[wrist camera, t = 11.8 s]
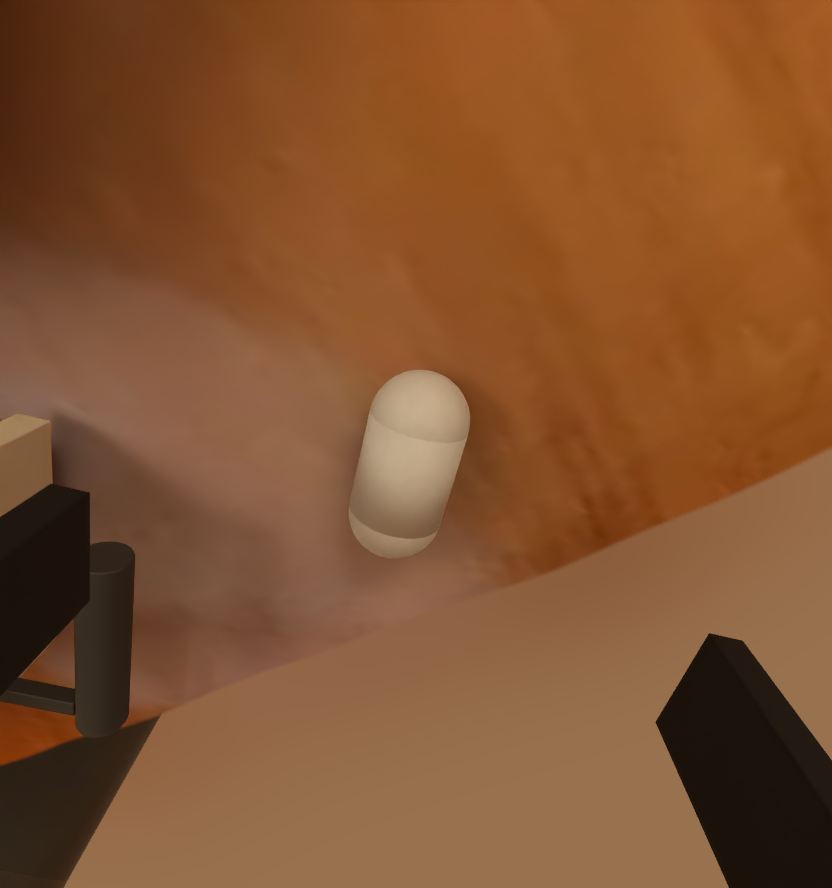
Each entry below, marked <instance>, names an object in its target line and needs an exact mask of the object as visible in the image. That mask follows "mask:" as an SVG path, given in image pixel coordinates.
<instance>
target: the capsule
mask: <svg viewBox="0 0 832 888" xmlns="http://www.w3.org/2000/svg"><path fill="white" fill-rule="evenodd" d="M469 428H470V412H469V407H468V404H467V402H466V399H465V397H464V395H463V393H462V392H461V391H460V389H459V388H458V387H457V385H456V384H454V383H453V382H452V381H451V380H450V379H448V378H447V377H445V376H443V375H441V374H439V373H437V372H434V371H429V370H411V371H406V372H403V373H401V374H398V375H396V376H394V377H393V378H391V379H390V380H388V381H387V382H386V383H385V384H384V385H383V386H382V387H381V388H380V390H379V391H378V392H377V394H376V396H375V398H374V399H373V402H372V405H371V408H370V412H369V417H368V421H367V426H366V430H365V435H364V439H363V444H362V448H361V452H360V457H359V461H358V466H357V470H356V475H355V479H354V484H353V488H352V493H351V497H350V502H349V512H348V514H349V521H350V525H351V528H352V531H353V533H354V535H355V537H356V538H357V540H358V541H359V542H360V543H361V545H362V546H363V547H365V548H366V549H367V550H369V551H370V552H372V553H373V554H375V555H377V556H380V557H383V558H388V559H401V558H407V557H410V556H413V555H415V554H417V553H419V552H421V551H422V550H423V549H424V548H426V547H427V546H428V545H429V544H430V543H431V542H432V540H433V539H434V538H435V536H436V534H437V532H438V530H439V528H440V525H441V522H442V519H443V515H444V512H445V509H446V506H447V502H448V499H449V496H450V493H451V489H452V486H453V483H454V480H455V476H456V473H457V470H458V467H459V463H460V460H461V457H462V454H463V450H464V447H465V444H466V440H467V437H468V433H469Z"/></svg>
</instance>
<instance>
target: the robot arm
mask: <svg viewBox="0 0 832 888" xmlns="http://www.w3.org/2000/svg"><path fill="white" fill-rule="evenodd" d="M89 601H90V493H89V492H85V491H80V490H76V489H71V488H67V487H63V486H58V485H54V484H49V485H48V486H46V487H45V488H43V489H42V490H40V491H39V492H37V493H36V494H34V495H33V496H31V497H30V498H28V499H27V500H25V501H24V502H22V503H21V504H19V505H18V506H16V507H14V508H13V509H11V510H10V511H8V512H7V513H5V514H4V515H2V516H1V517H0V696H1V695H2V694H3V693H4V692H5V691H6V690H7V689H8V688H9V687H10V686H11V685H12V683H13V682H14V681H15V680H16V679H17V678H18V677H19V676H20V675H21V674H22V673H23V672H24V671H25V670H26V668H27V667H28V666H29V665H30V664H31V663H32V662H33V661H34V660H35V659H36V658H37V657H38V656H39V655H40V654H41V652H42V651H43V650H44V649H45V648H46V647H47V646H48V645H49V644H50V643H51V642H52V641H53V640H54V639H55V637H56V636H57V635H58V634H59V633H60V632H61V631H62V630H63V629H64V628H65V627H66V626H67V625H68V624H69V622H70V621H71V620H72V619H73V618H74V617H75V616H76V615H77V614H78V613H79V612H80V611H81V610H82V609H83V607H84V606H85V605H86V604H87V603H88V602H89ZM656 724H657V726H658V729H659V731H660V733H661V735H662V738H663V740H664V742H665V745H666V747H667V749H668V751H669V753H670V756H671V758H672V760H673V762H674V765H675V767H676V769H677V772H678V774H679V776H680V778H681V780H682V783H683V785H684V787H685V790H686V792H687V794H688V796H689V798H690V801H691V803H692V805H693V808H694V809H695V812H696V814H697V817H698V819H699V821H700V823H701V825H702V828H703V830H704V832H705V835H706V837H707V839H708V841H709V844H710V846H711V848H712V850H713V853H714V855H715V857H716V859H717V861H718V864H719V866H720V868H721V871H722V873H723V875H724V877H725V880H726V882H727V884H728V886H729V888H832V760H831V759H830V758H829V756H828V755H827V753H826V752H825V751H824V750H823V748H822V747H821V746H820V744H819V743H818V741H817V740H816V739H815V737H814V736H813V735H812V733H811V732H810V731H809V729H808V728H807V727H806V725H805V724H804V723H803V721H802V720H801V719H800V717H799V716H798V715H797V713H796V712H795V710H794V709H793V708H792V707H791V705H790V704H789V702H788V701H787V700H786V698H785V697H784V696H783V694H782V693H781V692H780V690H779V689H778V688H777V686H776V685H775V684H774V682H773V681H772V680H771V678H770V677H769V676H768V674H767V673H766V671H765V670H764V669H763V667H762V666H761V665H760V663H759V662H758V661H757V659H756V658H755V657H754V655H753V654H752V653H751V652H750V650H749V649H748V647H747V646H746V645H745V644H744V642H743V641H741V640H737V639H732V638H727V637H723V636H719V635H715V634H710V633H709V634H708V637H707V638H706V639H705V641H704V643H703V644H702V646H701V648H700V650H699V651H698V653H697V655H696V656H695V658H694V659H693V661H692V663H691V664H690V666H689V668H688V669H687V671H686V673H685V674H684V676H683V678H682V679H681V681H680V683H679V684H678V686H677V687H676V689H675V691H674V692H673V694H672V696H671V697H670V699H669V701H668V702H667V704H666V706H665V707H664V709H663V711H662V712H661V714H660V716H659V717H658V719H657V721H656Z"/></svg>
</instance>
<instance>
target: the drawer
mask: <svg viewBox="0 0 832 888" xmlns="http://www.w3.org/2000/svg"><path fill="white" fill-rule="evenodd" d="M49 484H53V481H52V448H51V422H50V421H49V420H45V419H40V418H36V417H32V416H27V415H23V414H15V415H13V416H11V417H8V418H6V419H4V420H1V421H0V517H1V516H2V515H4V514H5V513H7V512H8V511H10V510H11V509H13V508H14V507H16V506H18V505H19V504H21V503H22V502H24V501H25V500H27V499H28V498H30V497H31V496H33V495H34V494H36V493H37V492H39V491H40V490H42V489H43V488H45V487H46V486H48V485H49ZM134 576H135V553H134V551H133V550H132V548H131V547H129V546H128V545H126V544H123V543H119V542H99V543H95V544H92V545H90V601H89V602H88V603H87V604H86V605H85V606H84V607H83V609H82V610H81V611H80V612H79V613H78V614H77V615H76V616H75V617H74V644H75V689H72V688H67V687H62V686H57V685H52V684H47V683H42V682H37V681H32V680H27V679H22V678H20V677H21V676H22V675H23V673H24V672H25V671H26V670H27V669H28V668H29V667H30V666H31V665H32V664H33V663H34V662H35V661H36V659H37V658H38V657H39V656H40V655H41V654H42V653H43V652H44V651H45V650H46V649H47V648H48V647H49V645H50V644H51V643H52V642H53V641H54V640H55V639H56V638H57V636H56V637H55V639H54V640H53V641H52V642H51V643H50V644H49V645H48V646H47V647H46V648H45V649H44V650H43V651H42V652H41V654H40V655H39V656H38V657H37V658H36V659H35V660H34V661H33V662H32V663H31V664H30V665H29V666H28V667H27V668H26V670H25V671H24V672H23V673H22V674H21V675H20V676H19V677H18V678H17V679H16V680H15V681H14V682H13V683H12V685H11V686H10V687H9V688H8V689H7V690H6V691H5V692H4V693H3V694H2V695H1V696H0V701H2V702H7V703H12V704H17V705H22V706H27V707H32V708H37V709H42V710H47V711H52V712H58V713H63V714H68V715H75V716H76V728H77V730H78V731H79V732H80V733H81V734H82V735H84V736H86V737H90V738H100V737H104V736H107V735H110V734H112V733H113V732H115V731H117V730H118V729H119V728H120V727H121V726H122V725H123V724H124V723H125V721H126V719H127V717H128V714H129V696H130V672H131V648H132V624H133V600H134Z"/></svg>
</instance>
